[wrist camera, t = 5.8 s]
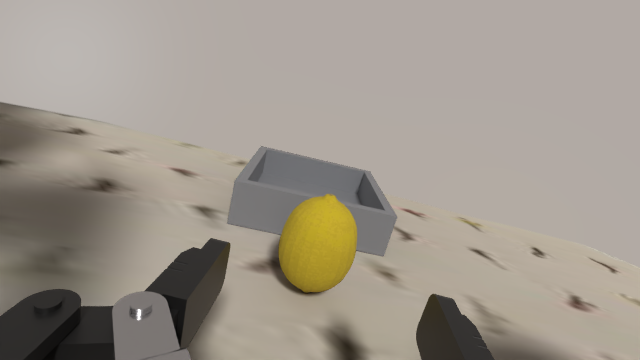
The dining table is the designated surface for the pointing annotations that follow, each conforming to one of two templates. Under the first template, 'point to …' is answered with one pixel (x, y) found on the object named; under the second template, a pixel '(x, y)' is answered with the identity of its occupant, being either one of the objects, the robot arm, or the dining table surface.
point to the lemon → (318, 244)
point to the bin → (309, 195)
